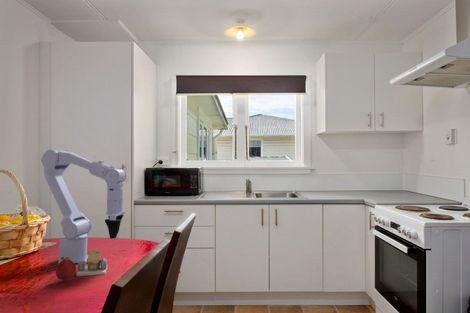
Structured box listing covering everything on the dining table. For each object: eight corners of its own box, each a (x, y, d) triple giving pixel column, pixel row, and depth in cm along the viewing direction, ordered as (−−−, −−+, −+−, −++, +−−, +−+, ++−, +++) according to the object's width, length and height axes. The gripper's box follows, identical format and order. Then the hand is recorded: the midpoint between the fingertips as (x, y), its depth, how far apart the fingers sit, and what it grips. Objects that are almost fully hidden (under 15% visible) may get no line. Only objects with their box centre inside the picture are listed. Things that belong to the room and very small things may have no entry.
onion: (61, 286, 98) (62, 260, 98) (51, 282, 101) (52, 257, 101) (79, 280, 103) (79, 256, 103) (69, 276, 106) (69, 252, 106)
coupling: (86, 272, 108) (86, 254, 108) (87, 267, 113) (87, 250, 113) (100, 270, 110) (101, 253, 110) (101, 266, 114) (101, 249, 114)
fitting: (76, 276, 107) (76, 263, 107) (80, 269, 114) (81, 256, 114) (104, 274, 109) (105, 261, 109) (107, 267, 116) (107, 255, 116)
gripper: (124, 202, 115) (123, 240, 115) (127, 197, 129) (126, 231, 129) (103, 202, 113) (103, 241, 113) (108, 197, 127) (108, 231, 127)
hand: (114, 235), depth 121 cm, fingers open, 7 cm apart
